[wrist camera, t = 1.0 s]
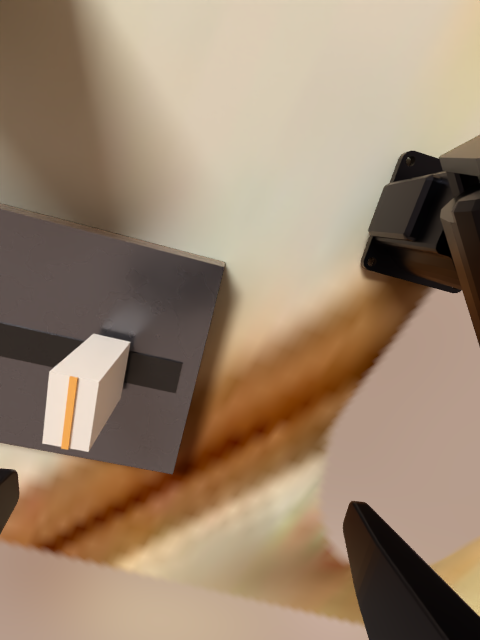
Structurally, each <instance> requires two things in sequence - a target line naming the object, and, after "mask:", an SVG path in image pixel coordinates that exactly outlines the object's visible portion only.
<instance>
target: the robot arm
mask: <svg viewBox="0 0 480 640" xmlns="http://www.w3.org/2000/svg"><path fill="white" fill-rule="evenodd" d="M408 157H409V158H410V159H411V164H410V166H408V165H407V164H406V159H407V158H408ZM368 231H369V234H370V237H369V240H368V242H367V245H366V248H365V250H364V253H363V256H362V258H361V265H362V267H363V268H365V269H367V270H370V271H374V272H377V273H381V274H385V275H388V276H392V277H396V278H399V279H403V280H407V281H410V282H414V283H418V284H421V285H425V286H429V287H432V288H436V289H440V290H443V291H447V292H451V293H458V292H460V291H461V290H462V291H463V294H464V297H465V300H466V304H467V307H468V310H469V313H470V316H471V320H472V323H473V326H474V329H475V333H476V336H477V339H478V342H479V346H480V135H479V136H477V137H475V138H473V139H471V140H469V141H467V142H466V143H464V144H462V145H460V146H458V147H456V148H454V149H452V150H451V151H449V152H447V153H445V154H443V155H441V156H440V157H439V159H438V158H435V157H432V156H429V155H425V154H422V153H419V152H416V151H409V152H406V153H403V154H402V155H401V156H400V158H399V159H398V162H397V164H396V167H395V170H394V172H393V175H392V178H391V181H390V183H389V184H388V185H386V186H385V187H384V189H383V191H382V194H381V197H380V199H379V202H378V205H377V207H376V210H375V213H374V216H373V218H372V221H371V224H370V226H369V229H368ZM371 257H372V258H373V263H372V264H371V265H368V260H369V259H370V258H371ZM452 287H453V288H452ZM18 499H19V484H18V474H17V472H16V470H12V469H0V534H1V532H2V530H3V528H4V526H5V525H6V523H7V521H8V519H9V517H10V515H11V513H12V512H13V510H14V508H15V506H16V504H17V502H18ZM343 533H344V538H345V543H346V548H347V552H348V558H349V563H350V568H351V573H352V578H353V583H354V587H355V592H356V596H357V600H358V604H359V607H360V611H361V614H362V617H363V621H364V624H365V628H366V631H367V634H368V638H369V640H480V617H479V616H478V615H477V614H476V613H475V612H474V611H473V610H472V609H471V608H470V607H469V606H468V605H467V604H466V603H465V602H464V601H463V600H462V599H461V598H460V596H459V595H458V594H457V593H456V592H455V591H454V590H453V589H452V588H451V587H450V586H449V585H448V584H447V583H446V582H445V581H444V580H443V579H442V578H441V577H440V576H439V575H438V574H437V573H436V572H435V571H434V570H433V569H432V568H431V567H430V566H429V565H428V564H427V563H426V562H425V561H424V560H423V559H422V558H421V557H420V556H419V555H418V554H416V552H415V551H414V550H413V549H412V548H411V547H410V546H409V545H408V544H407V543H406V542H405V541H404V540H403V539H402V538H401V537H400V536H399V535H398V534H397V533H396V532H395V531H394V530H393V529H392V528H391V527H390V526H389V525H388V524H387V523H386V522H385V521H384V520H383V519H382V518H381V517H380V516H379V515H378V514H377V513H376V512H375V511H374V510H373V509H372V508H371V507H370V506H369V505H368V504H367V503H365V502H358V501H351V502H350V504H349V506H348V509H347V512H346V516H345V519H344V522H343Z"/></svg>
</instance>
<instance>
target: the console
mask: <svg viewBox="0 0 480 640" xmlns="http://www.w3.org/2000/svg"><path fill="white" fill-rule="evenodd" d="M224 267H225V262H222V261H219V260H215V259H211V258H207V257H203V256H199V255H196V254H192V253H188V252H184V251H180V250H177V249H173V248H169V247H165V246H161V245H157V244H154V243H150V242H146V241H142V240H138V239H135V238H131V237H127V236H123V235H119V234H115V233H112V232H108V231H104V230H100V229H96V228H93V227H89V226H85V225H81V224H77V223H73V222H70V221H66V220H62V219H58V218H54V217H51V216H47V215H43V214H39V213H35V212H31V211H28V210H24V209H20V208H16V207H12V206H9V205H5V204H1V203H0V443H5V444H10V445H16V446H21V447H27V448H32V449H38V450H43V451H49V452H54V453H60V454H65V455H71V456H76V457H81V458H87V459H92V460H98V461H103V462H109V463H114V464H120V465H125V466H131V467H136V468H141V469H147V470H152V471H158V472H163V473H169V474H173V471H174V467H175V463H176V459H177V455H178V451H179V447H180V443H181V439H182V435H183V431H184V427H185V423H186V419H187V415H188V411H189V407H190V403H191V399H192V395H193V391H194V387H195V383H196V379H197V375H198V371H199V367H200V363H201V359H202V355H203V351H204V347H205V343H206V339H207V335H208V331H209V327H210V323H211V319H212V315H213V311H214V307H215V303H216V299H217V295H218V291H219V287H220V283H221V279H222V275H223V271H224ZM93 334H98V335H102V336H107V337H111V338H115V339H120V340H124V341H129V342H131V343H130V348H129V354H128V360H127V366H126V371H125V377H124V383H123V388H122V394H121V398H120V400H119V402H118V403H117V405H116V407H115V408H114V410H113V412H112V413H111V415H110V417H109V419H108V420H107V422H106V424H105V425H104V427H103V429H102V430H101V432H100V434H99V435H98V437H97V439H96V440H95V442H94V444H93V445H92V447H91V449H90V450H89V452H86V451H81V450H76V449H70V448H69V449H68V450H66V449H61V447H59V446H54V445H49V444H43V443H42V441H43V431H44V421H45V410H46V400H47V390H48V380H49V371H51V370H52V369H53V368H54V367H55V366H56V365H58V364H59V363H60V362H61V361H62V360H63V359H65V358H66V357H67V356H68V355H69V354H70V353H72V352H73V351H74V350H75V349H76V348H77V347H79V346H80V345H81V344H82V343H83V342H84V341H86V340H87V339H88V338H89V337H90V336H91V335H93Z"/></svg>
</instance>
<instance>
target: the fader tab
mask: <svg viewBox="0 0 480 640" xmlns="http://www.w3.org/2000/svg"><path fill="white" fill-rule="evenodd" d="M130 343H131V342H129V341H124V340H120V339H115V338H111V337H107V336H102V335H98V334H93V335H91V336H90V337H89V338H88V339H87V340H86V341H84V342H83V343H82V344H81V345H80V346H79V347H77V348H76V349H75V350H74V351H73V352H72V353H70V354H69V355H68V356H67V357H66V358H65V359H63V360H62V361H61V362H60V363H59V364H58V365H56V366H55V367H54V368H53V369H52V370H51V371H49V380H48V390H47V400H46V410H45V421H44V431H43V441H42V443H43V444H49V445H54V446H59V447H61V449H66V450H68V449H69V448H70V449H76V450H81V451H86V452H89V450H90V449H91V447H92V445H93V444H94V442H95V440H96V439H97V437H98V435H99V434H100V432H101V430H102V429H103V427H104V425H105V424H106V422H107V420H108V419H109V417H110V415H111V413H112V412H113V410H114V408H115V407H116V405H117V403H118V402H119V400H120V398H121V394H122V388H123V383H124V377H125V371H126V366H127V360H128V354H129V348H130Z"/></svg>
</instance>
